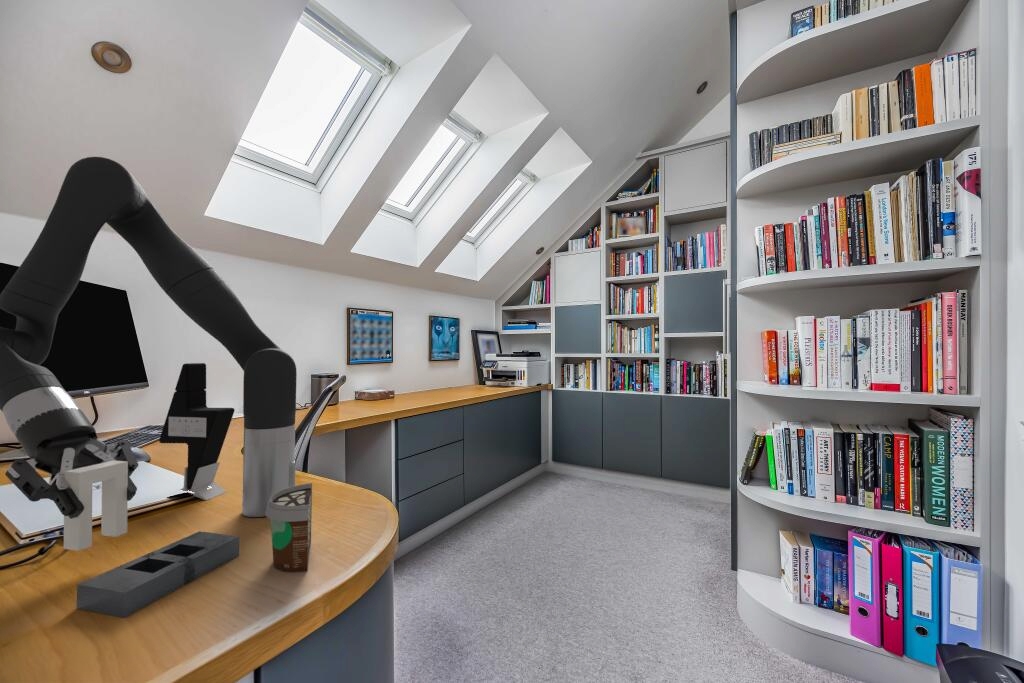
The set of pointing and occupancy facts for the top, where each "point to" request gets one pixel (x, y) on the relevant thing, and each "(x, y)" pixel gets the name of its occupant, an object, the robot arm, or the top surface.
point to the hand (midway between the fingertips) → (105, 505)
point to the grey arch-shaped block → (112, 502)
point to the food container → (291, 527)
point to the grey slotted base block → (155, 574)
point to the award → (197, 430)
